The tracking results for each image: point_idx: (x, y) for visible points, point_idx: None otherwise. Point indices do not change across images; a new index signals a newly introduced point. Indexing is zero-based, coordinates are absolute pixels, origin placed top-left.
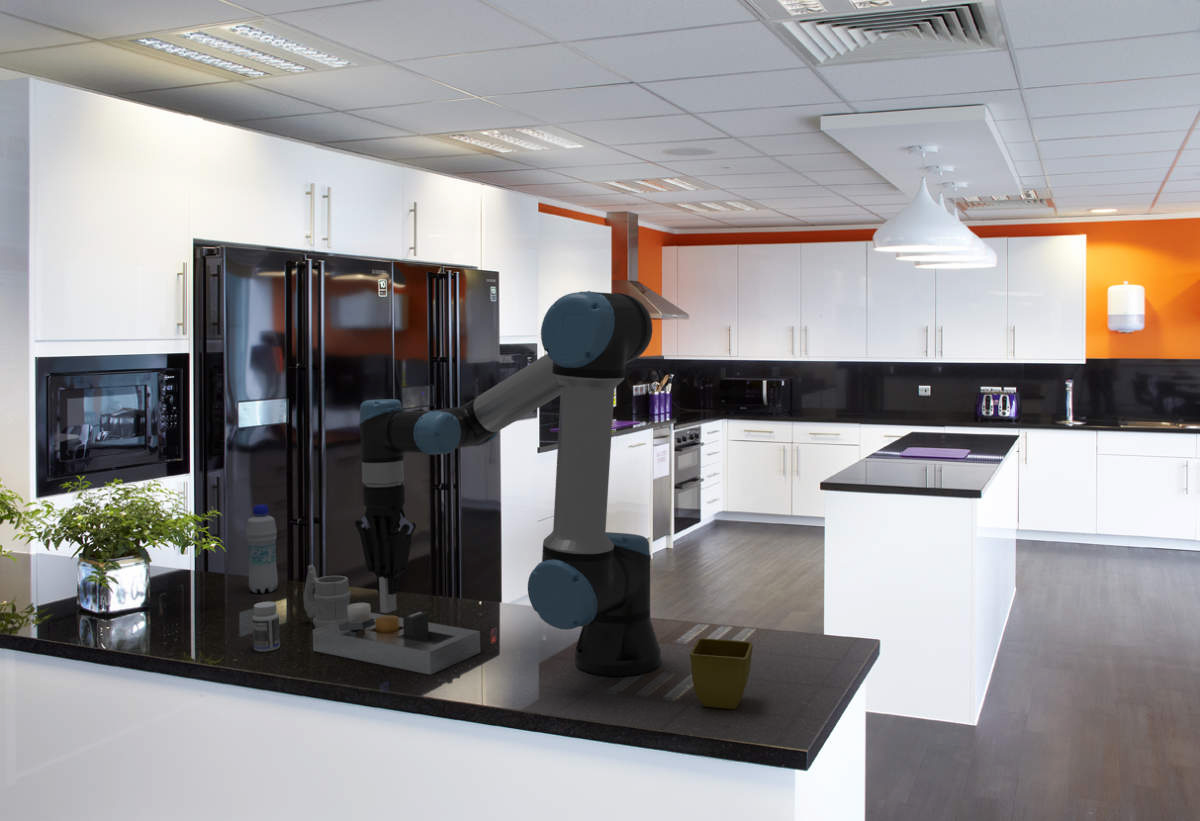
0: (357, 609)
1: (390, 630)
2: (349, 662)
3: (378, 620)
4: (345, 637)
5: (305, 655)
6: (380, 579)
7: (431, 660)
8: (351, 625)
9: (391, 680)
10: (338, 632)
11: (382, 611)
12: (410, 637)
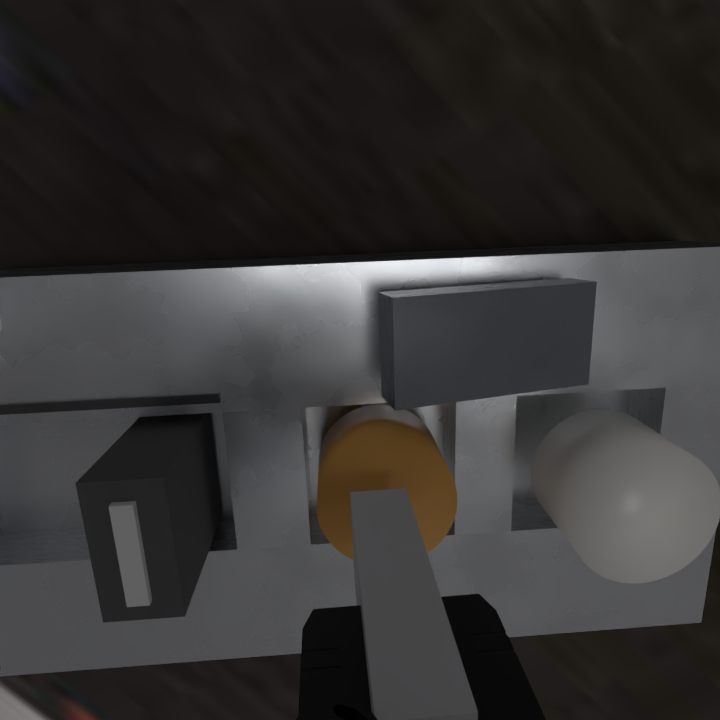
0: (604, 462)
1: (327, 449)
2: (397, 205)
3: (402, 448)
4: (494, 255)
5: (666, 169)
6: (447, 690)
7: None
8: (486, 288)
9: (3, 105)
10: None
11: (389, 493)
12: (147, 428)
